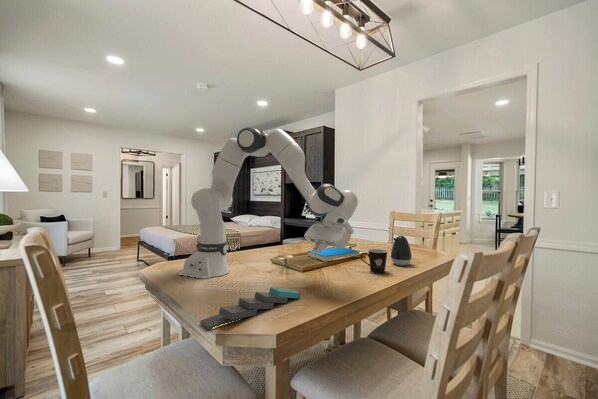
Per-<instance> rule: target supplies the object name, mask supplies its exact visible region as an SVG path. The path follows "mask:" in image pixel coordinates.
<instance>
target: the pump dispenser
mask: <svg viewBox="0 0 598 399" xmlns="http://www.w3.org/2000/svg"><path fill="white" fill-rule="evenodd" d="M392 240H393V243H392V247H391V250H390V259H391V260H392V263H393V264H395V265H396V266H401V267H406V266H408V265H409V264H410V263H411V261H412V259H413V258H412V250H411V247H410V243H409V241H408V239H407V238H406V237H405V236H404V235H398V236H397V237H393V238H392Z"/></svg>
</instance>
